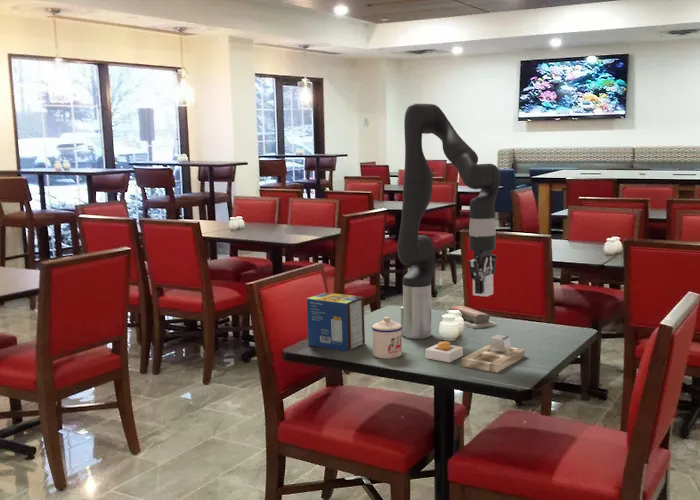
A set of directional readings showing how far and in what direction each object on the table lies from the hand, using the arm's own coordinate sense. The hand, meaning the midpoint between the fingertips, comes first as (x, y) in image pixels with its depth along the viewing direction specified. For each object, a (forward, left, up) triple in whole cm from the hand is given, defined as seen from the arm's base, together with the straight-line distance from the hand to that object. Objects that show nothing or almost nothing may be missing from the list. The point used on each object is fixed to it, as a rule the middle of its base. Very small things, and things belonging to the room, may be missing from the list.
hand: (482, 291), depth 210 cm
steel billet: (0, 0, -1) cm, 1 cm away
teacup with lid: (-25, -12, -20) cm, 34 cm away
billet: (+5, +2, -19) cm, 20 cm away
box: (-9, -7, -20) cm, 23 cm away
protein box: (-45, -13, -20) cm, 51 cm away
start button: (-9, -7, -17) cm, 21 cm away
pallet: (+5, -3, -20) cm, 21 cm away
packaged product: (-24, +36, -20) cm, 48 cm away
